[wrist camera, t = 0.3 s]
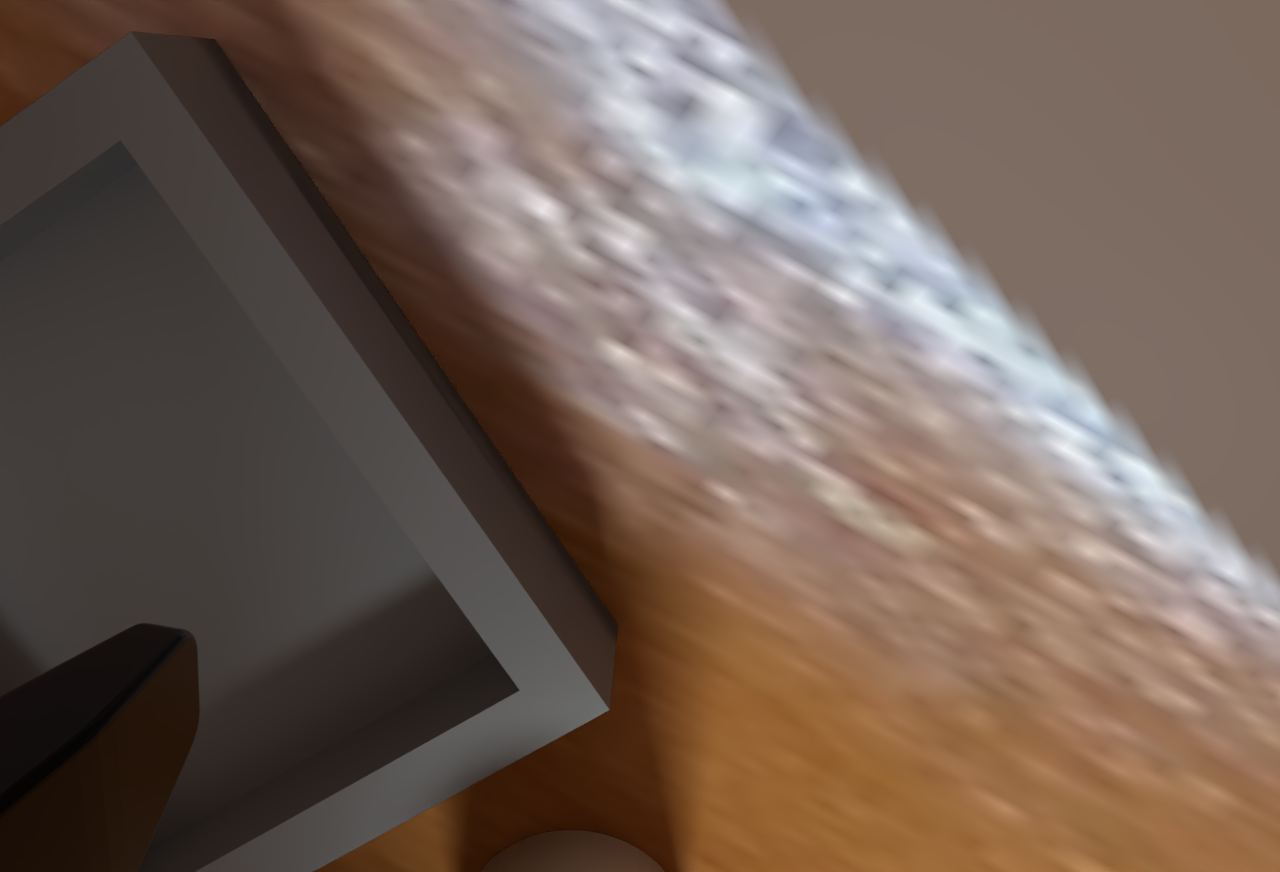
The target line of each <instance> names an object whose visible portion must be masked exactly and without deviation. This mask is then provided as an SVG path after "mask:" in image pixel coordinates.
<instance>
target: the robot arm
mask: <svg viewBox="0 0 1280 872" xmlns="http://www.w3.org/2000/svg"><path fill="white" fill-rule="evenodd" d="M199 719H200V694H199V671H198V648H197V643H196V640H195V637H194V635H193V634H192V633H190V632H189V631H188V630H185V629H180V628H174V627H168V626H163V625H157V624H151V623H140V624H136V625H134V626H132V627H129V628H127V629H126V630H124V631H122V632H120V633H118V634H116V635H114V636H112V637H110V638H109V639H107V640H105V641H103V642H101V643H99V644H97V645H95V646H93V647H92V648H90V649H88V650H86V651H84V652H82V653H80V654H78V655H76V656H75V657H73V658H71V659H69V660H67V661H65V662H63V663H61V664H59V665H58V666H56V667H54V668H52V669H50V670H48V671H46V672H44V673H42V674H40V675H39V676H37V677H35V678H33V679H31V680H29V681H27V682H25V683H23V684H22V685H20V686H18V687H16V688H14V689H12V690H10V691H8V692H6V693H5V694H3V695H1V696H0V872H138V871H139V868H140V866H141V864H142V861H143V859H144V857H145V854H146V852H147V850H148V847H149V845H150V843H151V840H152V838H153V836H154V833H155V831H156V829H157V826H158V824H159V822H160V819H161V817H162V815H163V812H164V810H165V808H166V805H167V803H168V801H169V798H170V796H171V794H172V792H173V789H174V787H175V785H176V782H177V780H178V778H179V775H180V773H181V771H182V768H183V766H184V764H185V761H186V759H187V757H188V754H189V752H190V750H191V747H192V745H193V742H194V740H195V737H196V733H197V730H198V725H199Z"/></svg>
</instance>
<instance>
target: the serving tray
mask: <svg viewBox="0 0 1280 872" xmlns="http://www.w3.org/2000/svg"><path fill="white" fill-rule="evenodd" d="M140 623H151V624H157V625H163V626H168V627H174V628H180V629H185V630H188V631H189V632H190V633H192V634H193V635H194V637H195V640H196V643H197V648H198V671H199V694H200V719H199V725H198V730H197V733H196V737H195V740H194V742H193V745H192V747H191V750H190V752H189V754H188V757H187V759H186V761H185V764H184V766H183V768H182V771H181V773H180V775H179V778H178V780H177V782H176V785H175V787H174V789H173V792H172V794H171V796H170V798H169V801H168V803H167V805H166V808H165V810H164V812H163V815H162V817H161V819H160V822H159V824H158V826H157V829H156V831H155V833H154V836H153V838H152V840H151V843H150V845H149V847H148V850H147V852H146V854H145V857H144V859H143V861H142V864H141V866H140V868H139V871H138V872H314V871H316V870H317V869H319V868H321V867H323V866H325V865H327V864H328V863H330V862H332V861H334V860H336V859H338V858H339V857H341V856H343V855H345V854H347V853H349V852H350V851H352V850H354V849H356V848H358V847H360V846H361V845H363V844H365V843H367V842H369V841H371V840H372V839H374V838H376V837H378V836H380V835H382V834H383V833H385V832H387V831H389V830H391V829H393V828H394V827H396V826H398V825H400V824H402V823H404V822H405V821H407V820H409V819H411V818H413V817H415V816H416V815H418V814H420V813H422V812H424V811H426V810H427V809H429V808H431V807H433V806H435V805H437V804H438V803H440V802H442V801H444V800H446V799H448V798H449V797H451V796H453V795H455V794H457V793H459V792H460V791H462V790H464V789H466V788H468V787H470V786H471V785H473V784H475V783H477V782H479V781H481V780H482V779H484V778H486V777H488V776H490V775H492V774H493V773H495V772H497V771H499V770H501V769H503V768H504V767H506V766H508V765H510V764H512V763H514V762H515V761H517V760H519V759H521V758H523V757H525V756H526V755H528V754H530V753H532V752H534V751H536V750H537V749H539V748H541V747H543V746H545V745H547V744H548V743H550V742H552V741H554V740H556V739H558V738H559V737H561V736H563V735H565V734H567V733H569V732H570V731H572V730H574V729H576V728H578V727H580V726H581V725H583V724H585V723H587V722H589V721H591V720H592V719H594V718H596V717H598V716H600V715H602V714H603V713H605V712H607V711H609V710H610V701H611V691H612V681H613V671H614V661H615V651H616V641H617V631H618V625H617V623H616V622H615V620H614V619H613V618H612V616H611V615H610V613H609V612H608V610H607V609H606V607H605V606H604V604H603V603H602V602H601V600H600V599H599V597H598V596H597V594H596V593H595V591H594V590H593V588H592V587H591V586H590V584H589V583H588V581H587V580H586V578H585V577H584V575H583V574H582V572H581V571H580V570H579V568H578V567H577V565H576V564H575V562H574V561H573V559H572V558H571V556H570V555H569V554H568V552H567V551H566V549H565V548H564V546H563V545H562V543H561V542H560V541H559V539H558V538H557V536H556V535H555V533H554V532H553V530H552V529H551V527H550V526H549V525H548V523H547V522H546V520H545V519H544V517H543V516H542V514H541V513H540V511H539V510H538V509H537V507H536V506H535V504H534V503H533V501H532V500H531V498H530V497H529V495H528V494H527V493H526V491H525V490H524V488H523V487H522V485H521V484H520V482H519V481H518V479H517V478H516V477H515V475H514V474H513V472H512V471H511V469H510V468H509V466H508V465H507V463H506V462H505V461H504V459H503V458H502V456H501V455H500V453H499V452H498V450H497V449H496V447H495V446H494V445H493V443H492V442H491V440H490V439H489V437H488V436H487V434H486V433H485V432H484V430H483V429H482V427H481V426H480V424H479V423H478V421H477V420H476V418H475V417H474V416H473V414H472V413H471V411H470V410H469V408H468V407H467V405H466V404H465V402H464V401H463V400H462V398H461V397H460V395H459V394H458V392H457V391H456V389H455V388H454V386H453V385H452V384H451V382H450V381H449V379H448V378H447V376H446V375H445V373H444V372H443V370H442V369H441V368H440V366H439V365H438V363H437V362H436V360H435V359H434V357H433V356H432V354H431V353H430V352H429V350H428V349H427V347H426V346H425V344H424V343H423V341H422V340H421V339H420V337H419V336H418V334H417V333H416V331H415V330H414V328H413V327H412V325H411V324H410V323H409V321H408V320H407V318H406V317H405V315H404V314H403V312H402V311H401V309H400V308H399V307H398V305H397V304H396V302H395V301H394V299H393V298H392V296H391V295H390V293H389V292H388V291H387V289H386V288H385V286H384V285H383V283H382V282H381V280H380V279H379V277H378V276H377V275H376V273H375V272H374V270H373V269H372V267H371V266H370V264H369V263H368V261H367V260H366V259H365V257H364V256H363V254H362V253H361V251H360V250H359V248H358V247H357V246H356V244H355V243H354V241H353V240H352V238H351V237H350V235H349V234H348V232H347V231H346V230H345V228H344V227H343V225H342V224H341V222H340V221H339V219H338V218H337V216H336V215H335V214H334V212H333V211H332V209H331V208H330V206H329V205H328V203H327V202H326V200H325V199H324V198H323V196H322V195H321V193H320V192H319V190H318V189H317V187H316V186H315V184H314V183H313V182H312V180H311V179H310V177H309V176H308V174H307V173H306V171H305V170H304V168H303V167H302V166H301V164H300V163H299V161H298V160H297V158H296V157H295V155H294V154H293V153H292V151H291V150H290V148H289V147H288V145H287V144H286V142H285V141H284V139H283V138H282V137H281V135H280V134H279V132H278V131H277V129H276V128H275V126H274V125H273V123H272V122H271V121H270V119H269V118H268V116H267V115H266V113H265V112H264V110H263V109H262V107H261V106H260V105H259V103H258V102H257V100H256V99H255V97H254V96H253V94H252V93H251V91H250V90H249V89H248V87H247V86H246V84H245V83H244V81H243V80H242V78H241V77H240V75H239V74H238V73H237V71H236V70H235V68H234V67H233V65H232V64H231V62H230V61H229V59H228V58H227V57H226V55H225V54H224V52H223V51H222V49H221V48H220V46H219V45H218V44H217V42H216V41H215V39H206V38H195V37H184V36H174V35H163V34H152V33H142V32H129V33H128V34H127V35H125V36H124V37H123V38H121V39H120V40H118V41H117V42H116V43H114V44H113V45H112V46H110V47H109V48H107V49H106V50H105V51H103V52H102V53H101V54H99V55H98V56H96V57H95V58H94V59H92V60H91V61H90V62H88V63H87V64H85V65H84V66H83V67H81V68H80V69H79V70H77V71H76V72H75V73H73V74H72V75H70V76H69V77H68V78H66V79H65V80H64V81H62V82H61V83H59V84H58V85H57V86H55V87H54V88H53V89H51V90H50V91H48V92H47V93H46V94H44V95H43V96H42V97H40V98H39V99H38V100H36V101H35V102H33V103H32V104H31V105H29V106H28V107H27V108H25V109H24V110H22V111H21V112H20V113H18V114H17V115H16V116H14V117H13V118H11V119H10V120H9V121H7V122H6V123H5V124H3V125H2V126H0V696H1V695H3V694H5V693H6V692H8V691H10V690H12V689H14V688H16V687H18V686H20V685H22V684H23V683H25V682H27V681H29V680H31V679H33V678H35V677H37V676H39V675H40V674H42V673H44V672H46V671H48V670H50V669H52V668H54V667H56V666H58V665H59V664H61V663H63V662H65V661H67V660H69V659H71V658H73V657H75V656H76V655H78V654H80V653H82V652H84V651H86V650H88V649H90V648H92V647H93V646H95V645H97V644H99V643H101V642H103V641H105V640H107V639H109V638H110V637H112V636H114V635H116V634H118V633H120V632H122V631H124V630H126V629H127V628H129V627H132V626H134V625H136V624H140Z"/></svg>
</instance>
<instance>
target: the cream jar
mask: <svg viewBox="0 0 1280 872" xmlns="http://www.w3.org/2000/svg"><path fill="white" fill-rule="evenodd" d="M480 872H665V871H664V870H663V869H662V867H661V866H660V865H659V864H657V863H656V862H655V861H654V860H653V859H652V858H651V857H650V856H648V855H647V854H645V853H644V852H643V851H641V850H640V849H638V848H636V847H634V846H633V845H631V844H629V843H627V842H625V841H622V840H620V839H617V838H615V837H612V836H608V835H605V834H601V833H596V832H590V831H582V830H561V831H551V832H546V833H541V834H537V835H534V836H531V837H528V838H525V839H523V840H520V841H518V842H516V843H514V844H512V845H510V846H509V847H507V848H505V849H504V850H502V851H501V852H499V853H498V854H497V855H496V856H495V857H493V858H492V859H491V860H490V861H489V862H488V863H487V864H486V865H485V866H484V867H483V869H482V870H481V871H480Z"/></svg>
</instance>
